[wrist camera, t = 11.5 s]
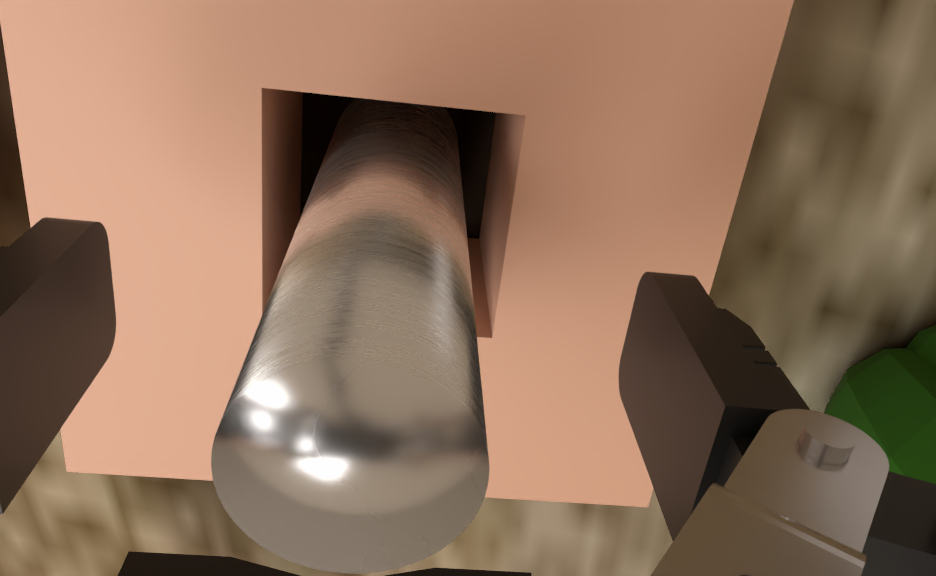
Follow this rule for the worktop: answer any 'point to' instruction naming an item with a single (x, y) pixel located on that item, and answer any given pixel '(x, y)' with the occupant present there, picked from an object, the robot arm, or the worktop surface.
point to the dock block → (279, 193)
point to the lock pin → (364, 360)
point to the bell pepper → (895, 404)
